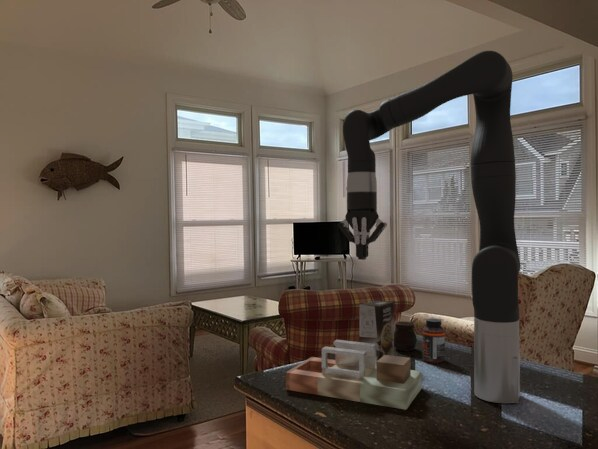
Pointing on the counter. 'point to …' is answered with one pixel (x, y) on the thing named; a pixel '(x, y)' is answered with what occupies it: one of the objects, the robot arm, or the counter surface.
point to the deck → (352, 384)
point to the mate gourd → (404, 336)
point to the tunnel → (350, 358)
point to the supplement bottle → (433, 341)
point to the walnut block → (393, 369)
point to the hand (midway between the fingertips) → (362, 259)
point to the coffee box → (377, 326)
